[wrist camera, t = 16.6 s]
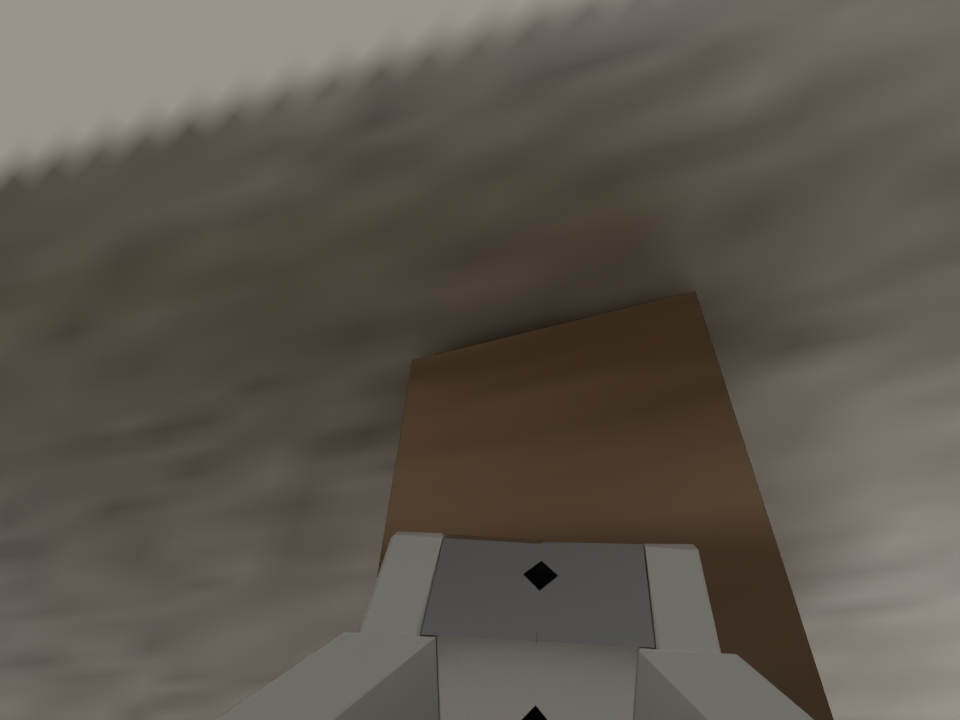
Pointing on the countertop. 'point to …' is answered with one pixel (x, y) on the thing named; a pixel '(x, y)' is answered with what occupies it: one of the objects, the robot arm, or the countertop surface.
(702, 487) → the domino
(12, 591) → the countertop surface
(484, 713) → the robot arm
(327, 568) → the countertop surface
